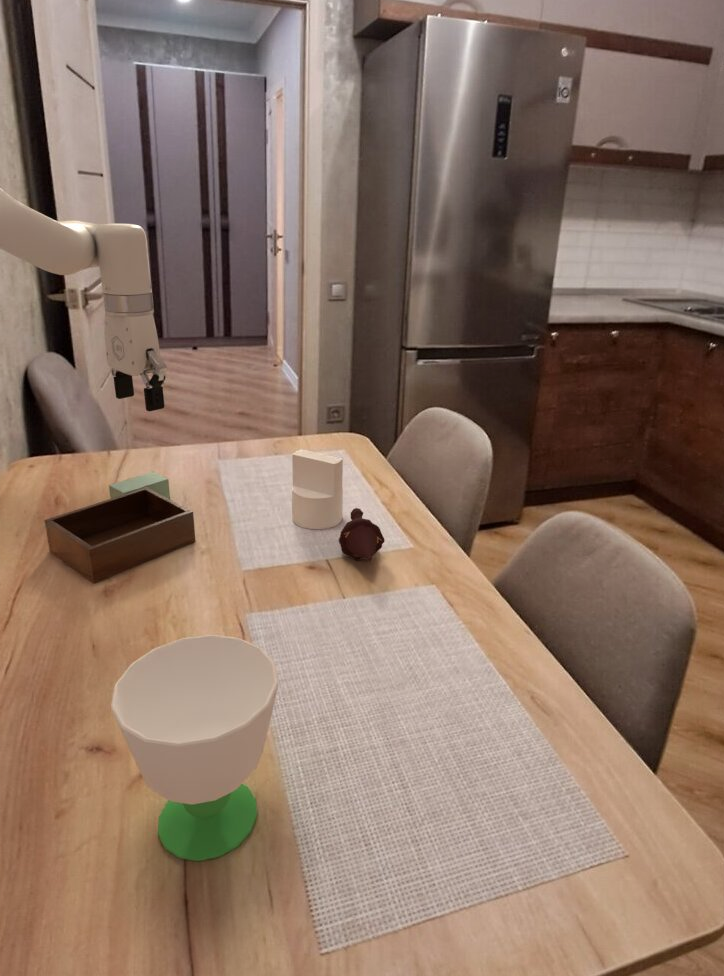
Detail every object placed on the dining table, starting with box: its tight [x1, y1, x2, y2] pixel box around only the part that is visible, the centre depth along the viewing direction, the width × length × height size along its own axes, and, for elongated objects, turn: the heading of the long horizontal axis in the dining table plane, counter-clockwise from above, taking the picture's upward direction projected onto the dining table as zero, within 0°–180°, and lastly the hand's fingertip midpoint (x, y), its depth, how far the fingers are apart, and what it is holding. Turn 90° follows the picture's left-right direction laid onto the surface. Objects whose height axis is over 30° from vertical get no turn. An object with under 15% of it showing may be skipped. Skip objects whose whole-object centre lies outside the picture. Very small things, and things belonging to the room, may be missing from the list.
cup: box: [110, 634, 279, 862], centre depth 60 cm, size 14×14×16 cm
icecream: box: [338, 507, 385, 562], centre depth 108 cm, size 7×7×15 cm
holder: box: [44, 487, 196, 584], centre depth 107 cm, size 14×18×6 cm
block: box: [108, 471, 171, 499], centre depth 123 cm, size 5×9×4 cm, turn 141°
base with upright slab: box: [291, 448, 344, 530], centre depth 119 cm, size 9×9×12 cm
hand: (140, 403), depth 116 cm, fingers open, 9 cm apart
